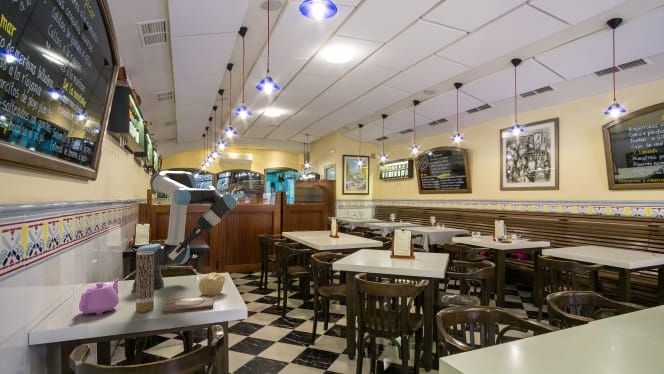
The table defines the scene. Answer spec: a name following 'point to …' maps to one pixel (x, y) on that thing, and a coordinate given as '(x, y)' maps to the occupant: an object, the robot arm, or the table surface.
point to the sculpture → (211, 284)
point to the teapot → (99, 298)
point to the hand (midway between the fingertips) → (172, 255)
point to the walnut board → (188, 304)
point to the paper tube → (144, 281)
